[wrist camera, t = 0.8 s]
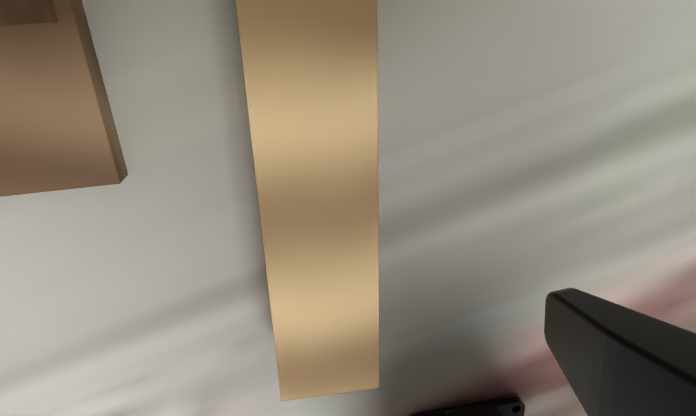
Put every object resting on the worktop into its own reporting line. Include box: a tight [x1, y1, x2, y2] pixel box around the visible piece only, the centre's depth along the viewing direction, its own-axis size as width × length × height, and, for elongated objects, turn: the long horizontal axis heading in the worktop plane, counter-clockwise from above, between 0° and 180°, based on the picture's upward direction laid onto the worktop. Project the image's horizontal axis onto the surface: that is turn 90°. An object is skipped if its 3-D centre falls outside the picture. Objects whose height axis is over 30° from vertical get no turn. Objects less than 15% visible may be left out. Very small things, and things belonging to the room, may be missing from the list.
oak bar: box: [236, 0, 379, 401], centre depth 18 cm, size 16×4×4 cm, turn 2°
